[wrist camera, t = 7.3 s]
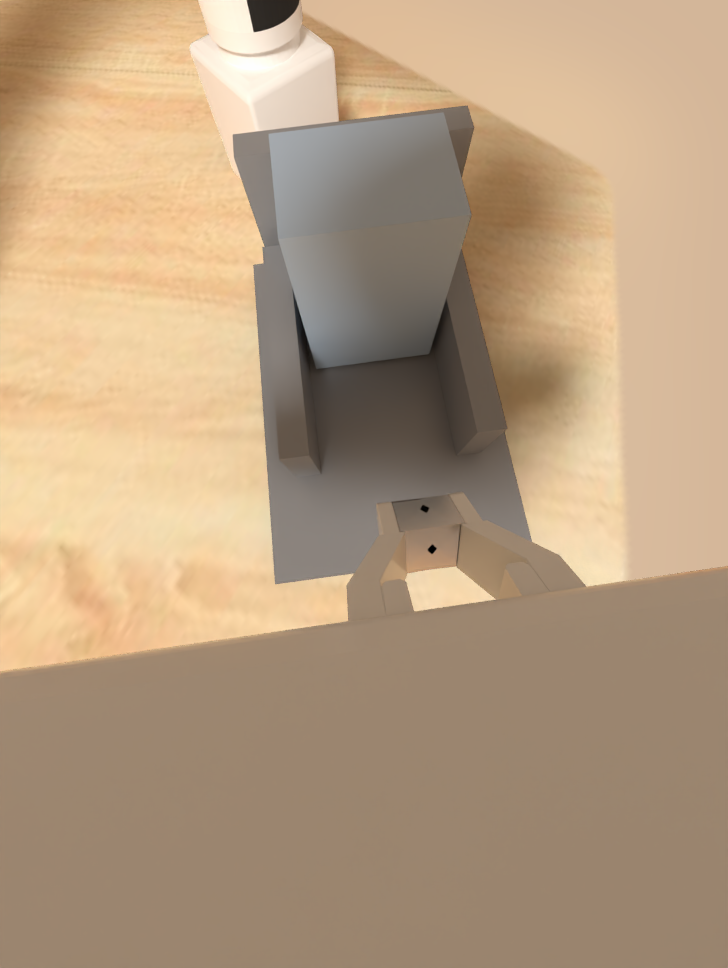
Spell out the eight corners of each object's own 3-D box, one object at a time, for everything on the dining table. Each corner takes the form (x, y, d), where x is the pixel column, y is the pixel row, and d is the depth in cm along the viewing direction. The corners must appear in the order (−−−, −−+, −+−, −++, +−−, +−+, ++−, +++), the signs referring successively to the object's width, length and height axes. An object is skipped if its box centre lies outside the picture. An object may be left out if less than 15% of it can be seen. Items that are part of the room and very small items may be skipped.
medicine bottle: (295, 135, 28) (241, -168, 16) (345, 178, 26) (325, -116, 15) (232, 174, 27) (127, -117, 15) (280, 221, 26) (206, -56, 14)
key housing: (525, 548, 19) (654, 547, 11) (279, 582, 19) (204, 610, 10) (452, 251, 25) (498, 85, 16) (258, 276, 24) (195, 122, 16)
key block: (428, 354, 21) (471, 214, 12) (316, 368, 21) (278, 239, 12) (414, 283, 22) (443, 112, 14) (308, 297, 22) (268, 133, 14)
